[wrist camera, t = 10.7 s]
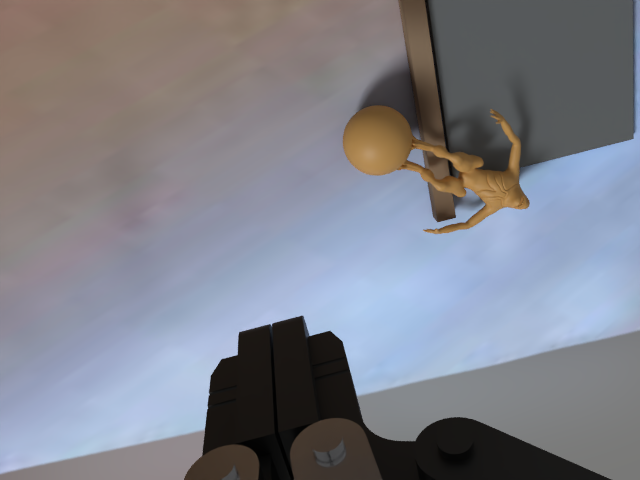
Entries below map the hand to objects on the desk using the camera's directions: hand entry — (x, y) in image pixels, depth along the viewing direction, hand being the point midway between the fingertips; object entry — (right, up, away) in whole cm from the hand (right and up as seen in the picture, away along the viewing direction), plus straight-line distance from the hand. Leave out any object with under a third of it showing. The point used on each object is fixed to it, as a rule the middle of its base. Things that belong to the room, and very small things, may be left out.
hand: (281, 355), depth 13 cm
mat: (+14, +13, +21) cm, 29 cm away
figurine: (+2, +10, +21) cm, 23 cm away
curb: (+7, +11, +21) cm, 25 cm away
